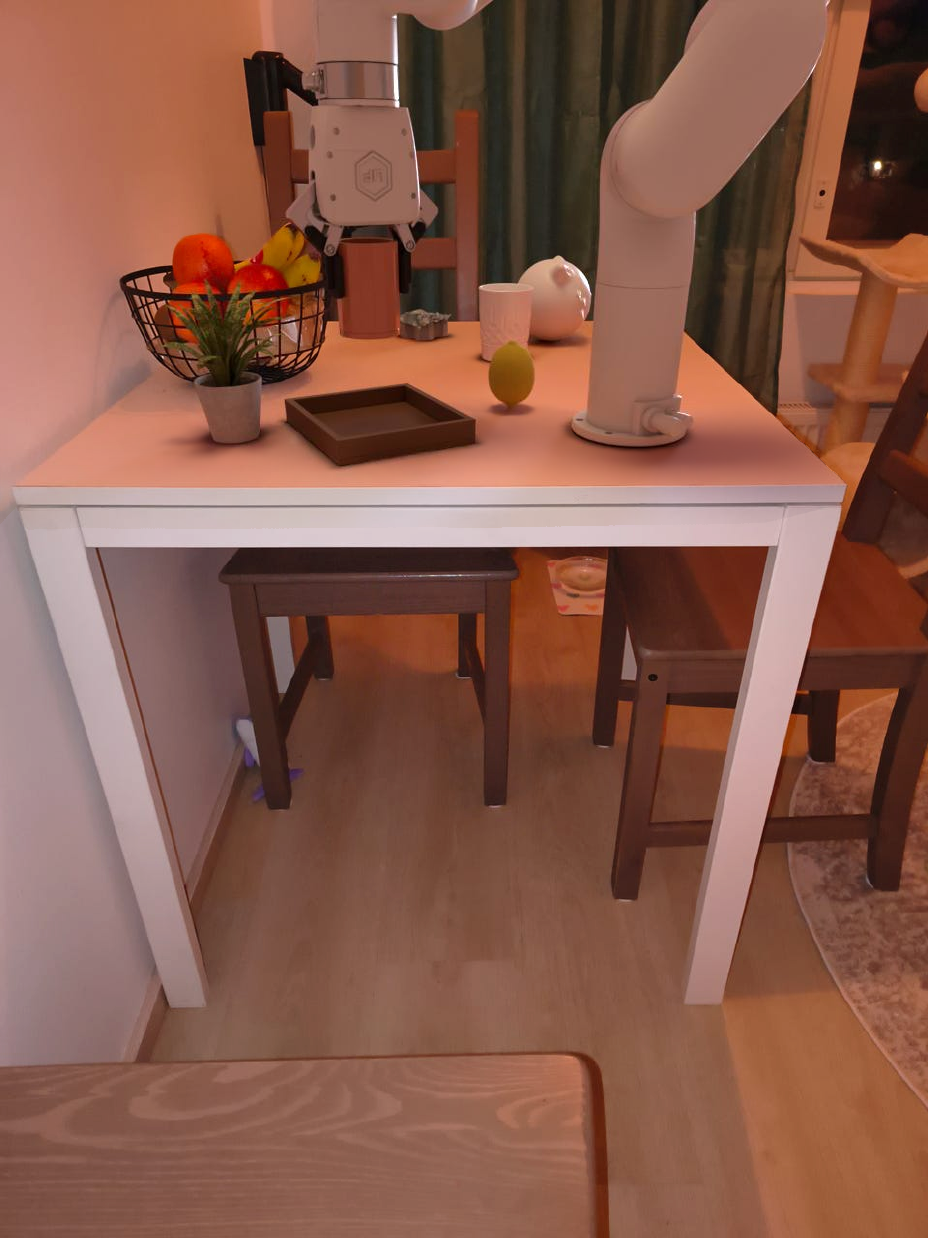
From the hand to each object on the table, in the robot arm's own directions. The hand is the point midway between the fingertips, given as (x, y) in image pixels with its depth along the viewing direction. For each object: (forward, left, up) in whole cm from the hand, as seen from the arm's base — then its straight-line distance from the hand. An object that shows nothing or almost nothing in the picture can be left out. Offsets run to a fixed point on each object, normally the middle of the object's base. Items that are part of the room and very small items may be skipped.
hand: (368, 292), depth 86 cm
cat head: (+33, -44, -15) cm, 57 cm away
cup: (0, 0, -4) cm, 4 cm away
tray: (0, 0, -15) cm, 15 cm away
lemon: (+1, -18, -15) cm, 23 cm away
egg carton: (+47, -27, -15) cm, 56 cm away
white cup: (+25, -31, -15) cm, 43 cm away
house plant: (+4, +14, -15) cm, 21 cm away
